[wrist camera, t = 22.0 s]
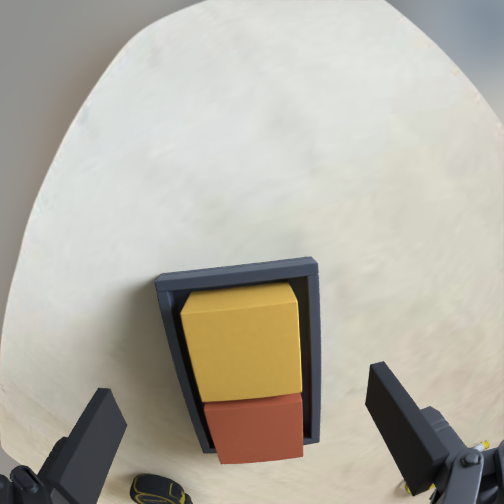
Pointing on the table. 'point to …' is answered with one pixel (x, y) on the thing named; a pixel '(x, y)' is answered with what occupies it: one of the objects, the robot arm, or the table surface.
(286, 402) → the pad terracotta
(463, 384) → the table surface
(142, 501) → the tape measure
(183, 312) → the pad mustard
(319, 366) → the tray
